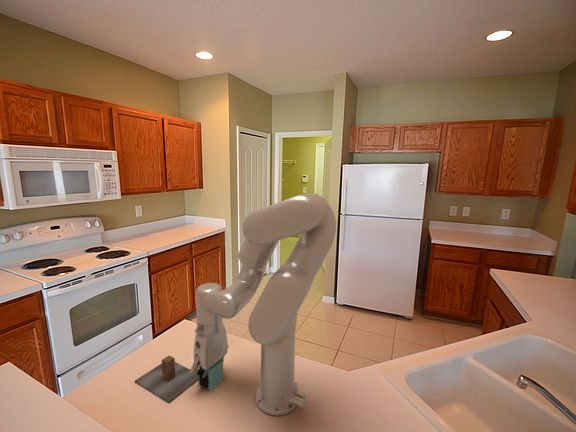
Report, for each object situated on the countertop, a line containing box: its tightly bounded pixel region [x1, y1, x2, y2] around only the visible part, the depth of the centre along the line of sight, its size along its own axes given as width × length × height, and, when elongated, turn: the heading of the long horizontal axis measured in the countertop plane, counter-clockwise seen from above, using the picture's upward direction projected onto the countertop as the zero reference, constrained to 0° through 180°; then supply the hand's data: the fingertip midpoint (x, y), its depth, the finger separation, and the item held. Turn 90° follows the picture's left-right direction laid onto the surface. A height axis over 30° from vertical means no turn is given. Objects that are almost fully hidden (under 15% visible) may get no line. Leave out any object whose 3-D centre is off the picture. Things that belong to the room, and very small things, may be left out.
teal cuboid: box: [202, 359, 224, 391], centre depth 84 cm, size 5×5×7 cm
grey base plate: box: [134, 355, 199, 404], centre depth 84 cm, size 16×12×7 cm
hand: (211, 379), depth 84 cm, fingers closed on teal cuboid, 5 cm apart
